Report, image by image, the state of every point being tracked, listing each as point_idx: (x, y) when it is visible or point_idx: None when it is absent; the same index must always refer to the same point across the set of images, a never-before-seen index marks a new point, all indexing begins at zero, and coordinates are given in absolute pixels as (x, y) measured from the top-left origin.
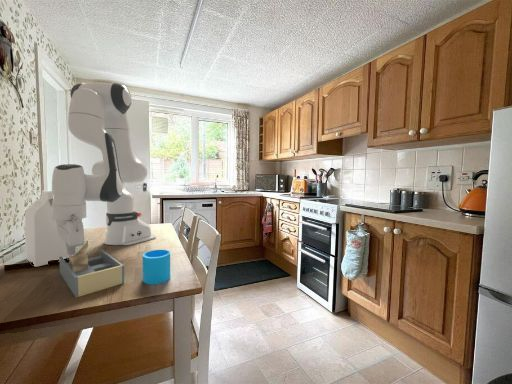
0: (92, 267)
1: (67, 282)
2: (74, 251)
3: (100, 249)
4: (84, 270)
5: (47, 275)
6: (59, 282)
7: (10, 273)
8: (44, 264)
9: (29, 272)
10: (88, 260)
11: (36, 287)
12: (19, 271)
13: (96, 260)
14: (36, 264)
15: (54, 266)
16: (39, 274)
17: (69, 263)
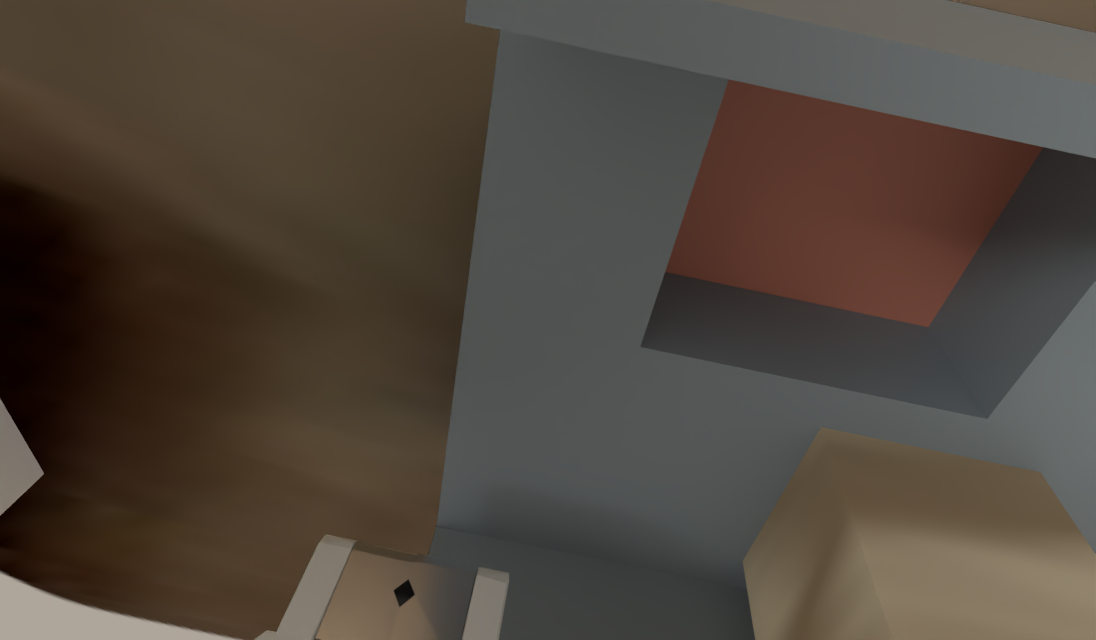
0: (1074, 424)
1: None
2: (498, 628)
3: (532, 20)
4: None
5: (429, 513)
6: None
7: (132, 598)
8: (4, 415)
9: (206, 542)
10: (623, 290)
11: None
12: (117, 562)
13: (698, 157)
14: (21, 488)
15: (149, 387)
16: (337, 529)
17: (755, 636)
